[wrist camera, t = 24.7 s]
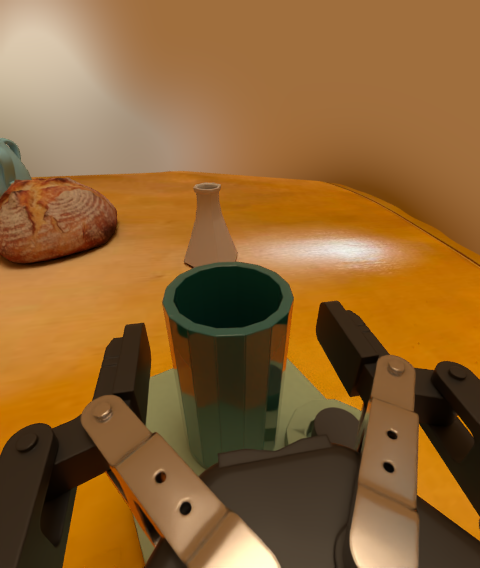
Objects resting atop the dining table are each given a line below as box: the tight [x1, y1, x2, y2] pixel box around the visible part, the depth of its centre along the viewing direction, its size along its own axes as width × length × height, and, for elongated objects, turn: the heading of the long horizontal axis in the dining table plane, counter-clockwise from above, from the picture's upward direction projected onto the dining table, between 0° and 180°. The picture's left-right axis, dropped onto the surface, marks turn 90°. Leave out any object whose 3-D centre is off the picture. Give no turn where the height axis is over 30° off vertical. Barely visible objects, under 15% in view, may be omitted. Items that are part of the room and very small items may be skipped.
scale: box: [132, 359, 361, 564], centre depth 20 cm, size 14×14×2 cm
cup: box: [162, 262, 294, 469], centre depth 17 cm, size 6×6×11 cm
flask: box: [184, 183, 237, 268], centre depth 40 cm, size 7×7×10 cm
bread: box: [0, 178, 117, 264], centre depth 46 cm, size 16×20×10 cm
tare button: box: [311, 407, 359, 449], centre depth 18 cm, size 3×3×2 cm
